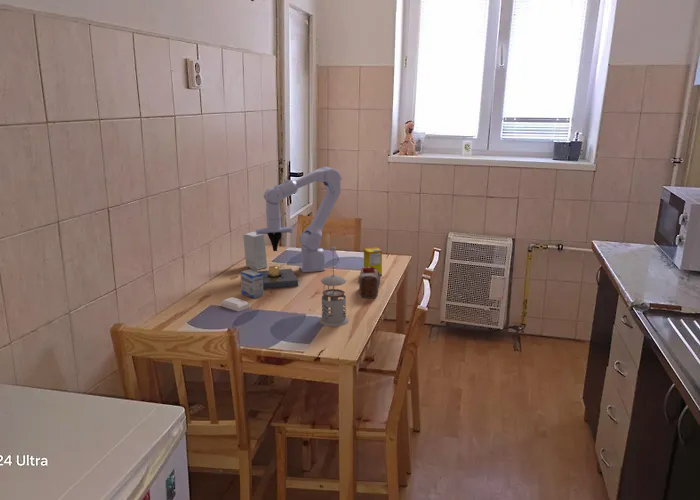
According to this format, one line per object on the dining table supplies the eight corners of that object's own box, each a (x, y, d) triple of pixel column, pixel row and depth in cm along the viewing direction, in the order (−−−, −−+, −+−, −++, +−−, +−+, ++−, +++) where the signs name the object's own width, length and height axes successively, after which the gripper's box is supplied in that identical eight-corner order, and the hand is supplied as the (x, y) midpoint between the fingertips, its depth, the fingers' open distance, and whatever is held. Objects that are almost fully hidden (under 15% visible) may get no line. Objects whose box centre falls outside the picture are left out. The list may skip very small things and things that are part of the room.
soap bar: (232, 303, 202) (231, 296, 201) (249, 308, 197) (248, 301, 196) (221, 307, 198) (220, 299, 198) (238, 312, 193) (237, 305, 192)
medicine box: (241, 294, 210) (239, 271, 208) (250, 291, 214) (249, 269, 211) (254, 298, 205) (253, 276, 203) (264, 295, 208) (262, 273, 206)
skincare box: (267, 267, 243) (265, 233, 240) (255, 270, 239) (254, 236, 236) (256, 263, 249) (254, 230, 245) (244, 266, 245) (242, 233, 241)
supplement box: (376, 272, 236) (376, 247, 233) (382, 276, 230) (382, 250, 228) (363, 273, 234) (363, 248, 231) (368, 277, 229) (368, 251, 226)
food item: (359, 286, 218) (359, 262, 216) (379, 286, 218) (380, 262, 215) (358, 298, 205) (358, 272, 202) (380, 298, 205) (381, 272, 202)
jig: (291, 274, 234) (291, 263, 232) (298, 286, 219) (297, 275, 217) (252, 277, 230) (251, 267, 228) (256, 290, 215) (255, 278, 213)
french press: (325, 328, 178) (323, 251, 172) (312, 316, 189) (311, 243, 182) (353, 323, 182) (353, 248, 176) (340, 311, 192) (339, 240, 186)
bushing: (278, 279, 227) (277, 265, 225) (280, 282, 223) (280, 268, 222) (268, 280, 225) (267, 266, 224) (270, 283, 222) (270, 269, 220)
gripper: (289, 215, 234) (290, 246, 238) (254, 217, 231) (256, 249, 234) (292, 218, 228) (293, 251, 231) (256, 220, 224) (258, 253, 228)
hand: (275, 250), depth 232 cm, fingers closed
